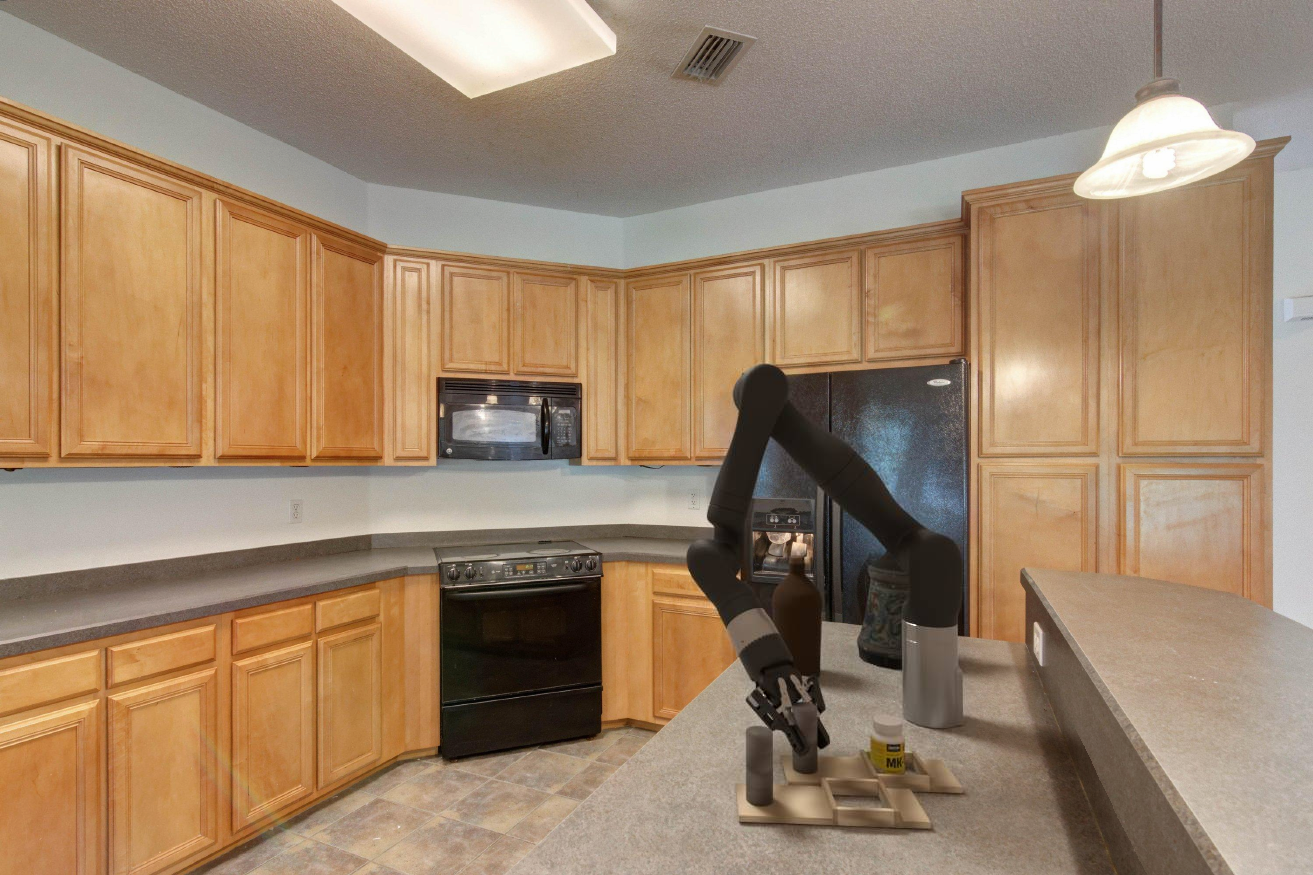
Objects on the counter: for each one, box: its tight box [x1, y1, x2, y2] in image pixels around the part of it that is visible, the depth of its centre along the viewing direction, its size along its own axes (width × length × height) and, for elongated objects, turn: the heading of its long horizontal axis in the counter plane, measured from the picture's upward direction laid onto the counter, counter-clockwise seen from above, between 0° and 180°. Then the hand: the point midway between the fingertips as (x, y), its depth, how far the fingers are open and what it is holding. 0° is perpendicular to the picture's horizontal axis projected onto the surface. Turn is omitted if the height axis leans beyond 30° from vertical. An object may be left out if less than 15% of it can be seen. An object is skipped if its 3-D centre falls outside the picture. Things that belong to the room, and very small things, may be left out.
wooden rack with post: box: [780, 701, 964, 794], centre depth 95 cm, size 24×8×10 cm, turn 86°
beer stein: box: [856, 550, 909, 671], centre depth 150 cm, size 16×19×25 cm
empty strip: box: [734, 725, 932, 829], centre depth 86 cm, size 24×8×10 cm, turn 86°
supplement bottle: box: [869, 714, 906, 775], centre depth 95 cm, size 5×5×8 cm
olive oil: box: [771, 554, 824, 679], centre depth 139 cm, size 11×11×25 cm
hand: (815, 749), depth 94 cm, fingers closed on wooden rack with post, 3 cm apart
